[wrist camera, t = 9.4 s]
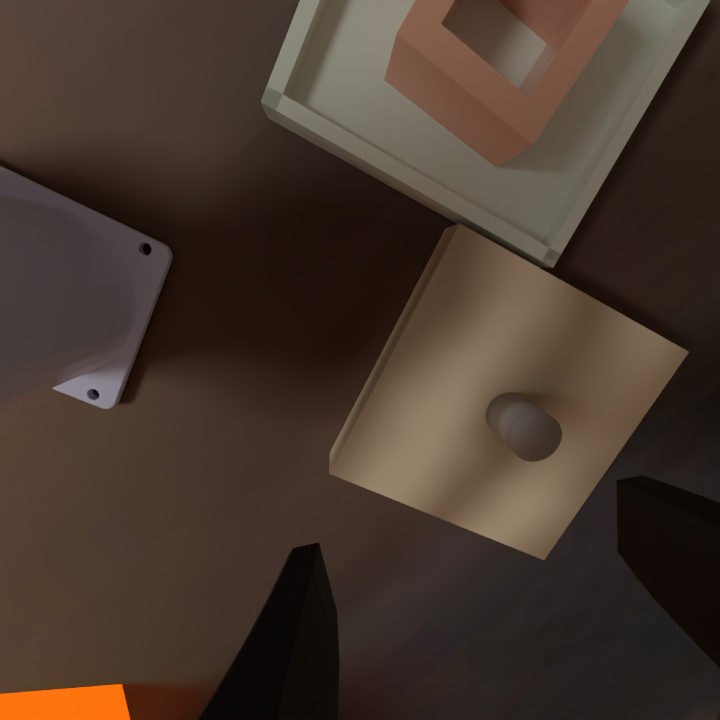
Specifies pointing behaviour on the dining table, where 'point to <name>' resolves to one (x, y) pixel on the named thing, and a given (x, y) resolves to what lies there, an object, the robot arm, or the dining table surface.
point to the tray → (442, 148)
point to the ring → (486, 85)
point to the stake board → (484, 357)
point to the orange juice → (66, 704)
